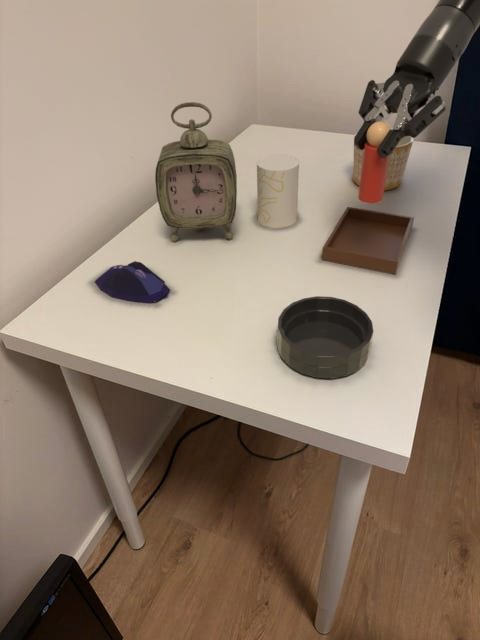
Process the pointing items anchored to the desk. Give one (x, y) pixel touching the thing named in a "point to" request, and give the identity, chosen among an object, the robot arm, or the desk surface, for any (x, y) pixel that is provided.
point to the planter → (394, 165)
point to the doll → (374, 165)
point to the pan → (324, 337)
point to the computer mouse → (132, 283)
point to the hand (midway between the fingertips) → (369, 150)
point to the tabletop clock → (196, 180)
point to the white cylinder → (277, 190)
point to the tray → (368, 240)
